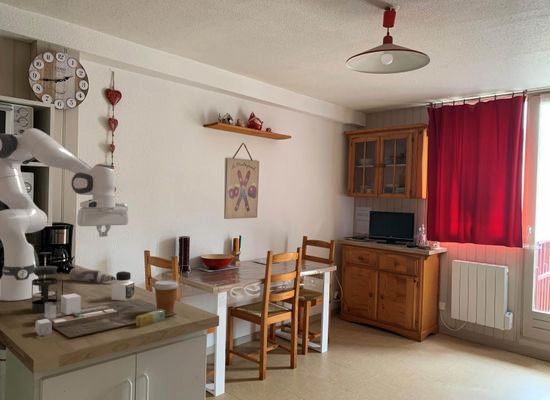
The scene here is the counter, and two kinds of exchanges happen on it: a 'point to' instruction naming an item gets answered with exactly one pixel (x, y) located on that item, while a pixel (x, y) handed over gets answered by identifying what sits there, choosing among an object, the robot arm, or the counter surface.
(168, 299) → the disposable coffee cup
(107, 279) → the decorative bottle
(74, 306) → the block
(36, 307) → the french press
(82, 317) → the gauge board
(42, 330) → the usb wall charger
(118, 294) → the medicine bottle
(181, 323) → the counter surface
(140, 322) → the medication box
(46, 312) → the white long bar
